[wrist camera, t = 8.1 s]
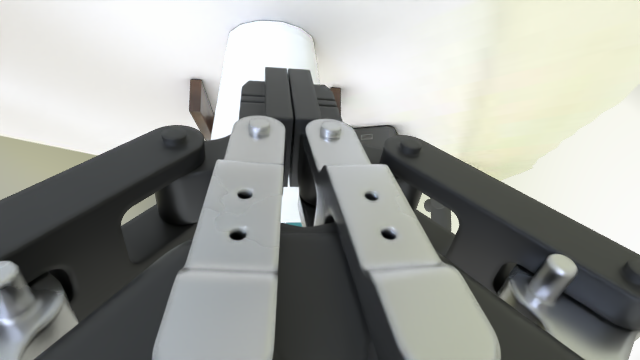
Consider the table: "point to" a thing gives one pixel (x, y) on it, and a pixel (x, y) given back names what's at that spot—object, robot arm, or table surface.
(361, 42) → the table surface
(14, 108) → the table surface
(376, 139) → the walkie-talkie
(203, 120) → the cup bay
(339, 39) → the table surface
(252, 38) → the foam cup
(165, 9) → the table surface
